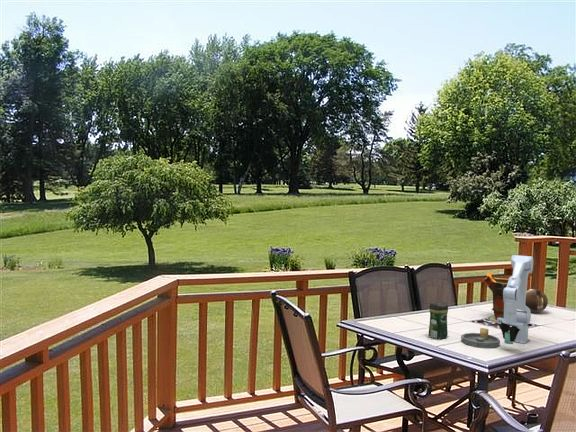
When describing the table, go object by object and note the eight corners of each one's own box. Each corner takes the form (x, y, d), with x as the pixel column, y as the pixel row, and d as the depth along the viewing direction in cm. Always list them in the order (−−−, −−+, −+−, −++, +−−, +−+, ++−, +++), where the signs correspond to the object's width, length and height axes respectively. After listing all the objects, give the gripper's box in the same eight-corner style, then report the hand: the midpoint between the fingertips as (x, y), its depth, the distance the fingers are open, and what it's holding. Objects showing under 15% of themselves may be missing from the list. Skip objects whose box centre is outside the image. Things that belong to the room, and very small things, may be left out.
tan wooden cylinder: (481, 337, 276) (482, 327, 276) (489, 338, 273) (489, 329, 273) (478, 338, 273) (478, 329, 273) (486, 340, 270) (486, 330, 270)
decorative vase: (529, 324, 306) (528, 276, 305) (486, 324, 311) (486, 276, 310) (520, 316, 327) (520, 271, 326) (481, 316, 331) (480, 271, 330)
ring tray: (469, 335, 282) (469, 331, 282) (504, 342, 270) (504, 337, 270) (455, 342, 269) (455, 337, 268) (491, 350, 257) (491, 345, 257)
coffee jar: (437, 334, 284) (439, 299, 283) (449, 337, 278) (451, 302, 277) (425, 336, 279) (426, 301, 278) (437, 340, 272) (438, 304, 271)
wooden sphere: (520, 308, 350) (521, 286, 349) (545, 311, 345) (546, 288, 344) (522, 313, 336) (523, 290, 335) (548, 316, 331) (550, 292, 330)
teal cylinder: (506, 341, 260) (506, 331, 260) (514, 342, 258) (515, 332, 257) (503, 343, 257) (503, 332, 257) (511, 344, 255) (512, 334, 254)
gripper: (492, 309, 262) (491, 336, 262) (515, 316, 248) (514, 345, 249) (503, 308, 264) (502, 335, 265) (526, 315, 251) (525, 343, 252)
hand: (509, 339), depth 257 cm, fingers closed on teal cylinder, 4 cm apart
